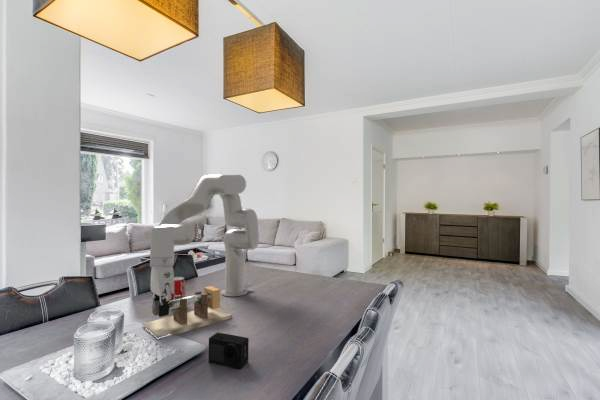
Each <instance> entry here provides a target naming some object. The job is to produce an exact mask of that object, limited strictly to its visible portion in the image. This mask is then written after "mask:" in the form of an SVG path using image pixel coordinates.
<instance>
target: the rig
mask: <svg viewBox="0 0 600 400" xmlns="http://www.w3.org/2000/svg"><path fill="white" fill-rule="evenodd" d="M202 292H203V291H201V290H197V291H195V293H194V294H195V295H199V294H201V302H200V303H196V304H193V308H194V309H193V310H191V311H188V309H187V307H188V305H187V298H182V299H180V298H181V295H177V296H175V299H180V307H179V308H174V309H173V315H172V316H166V317H163V318H159V319H155V320H152V321H148V322H147V321H146V322H142V326H143V325H144V326H145V327H146V328H147V329H148V330H150V331H151V332H152V333H153V334H154V335H155V336H156V337H157V338H159V337H162V336H166V335H168V334H171V335H172V336H174V335H175V336H177V335H178V334H182V333H185V332H189V331H192V330H195V329H200V328H203V327H206V326H210V325H212V324H215V323H219V322H222V321H223V322H224V321H227V320H230V319H233V314H231V313H229V312H228V311H225V310H223V309H222V308H216V309H211V308H209V307H208V304H207V294H206V293H205V294H204V293H202Z"/></svg>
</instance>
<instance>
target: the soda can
mask: <svg viewBox="0 0 600 400" xmlns="http://www.w3.org/2000/svg"><path fill="white" fill-rule="evenodd" d="M177 295H181V298H185V297H186V280H185V277H183V276H174V294H171V299H170V301H171V300H175V296H177Z"/></svg>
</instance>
